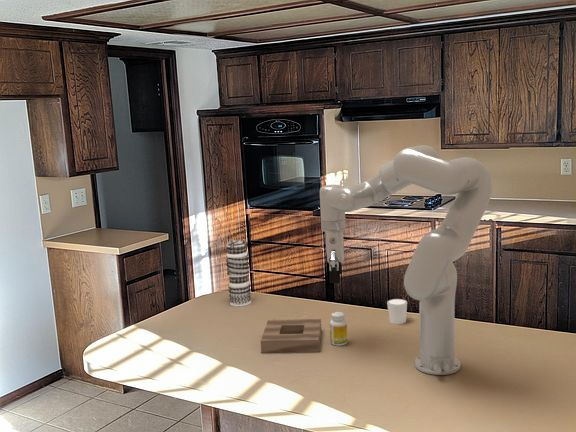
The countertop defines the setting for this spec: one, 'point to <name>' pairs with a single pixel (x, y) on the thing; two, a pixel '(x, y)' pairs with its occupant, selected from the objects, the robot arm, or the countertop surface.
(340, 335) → the supplement bottle
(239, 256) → the decorative candle
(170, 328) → the countertop surface
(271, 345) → the holder block
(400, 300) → the white tapered cup
